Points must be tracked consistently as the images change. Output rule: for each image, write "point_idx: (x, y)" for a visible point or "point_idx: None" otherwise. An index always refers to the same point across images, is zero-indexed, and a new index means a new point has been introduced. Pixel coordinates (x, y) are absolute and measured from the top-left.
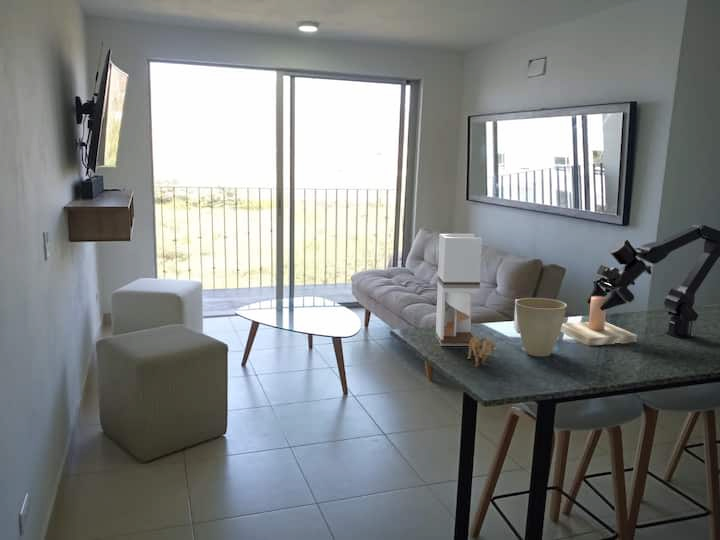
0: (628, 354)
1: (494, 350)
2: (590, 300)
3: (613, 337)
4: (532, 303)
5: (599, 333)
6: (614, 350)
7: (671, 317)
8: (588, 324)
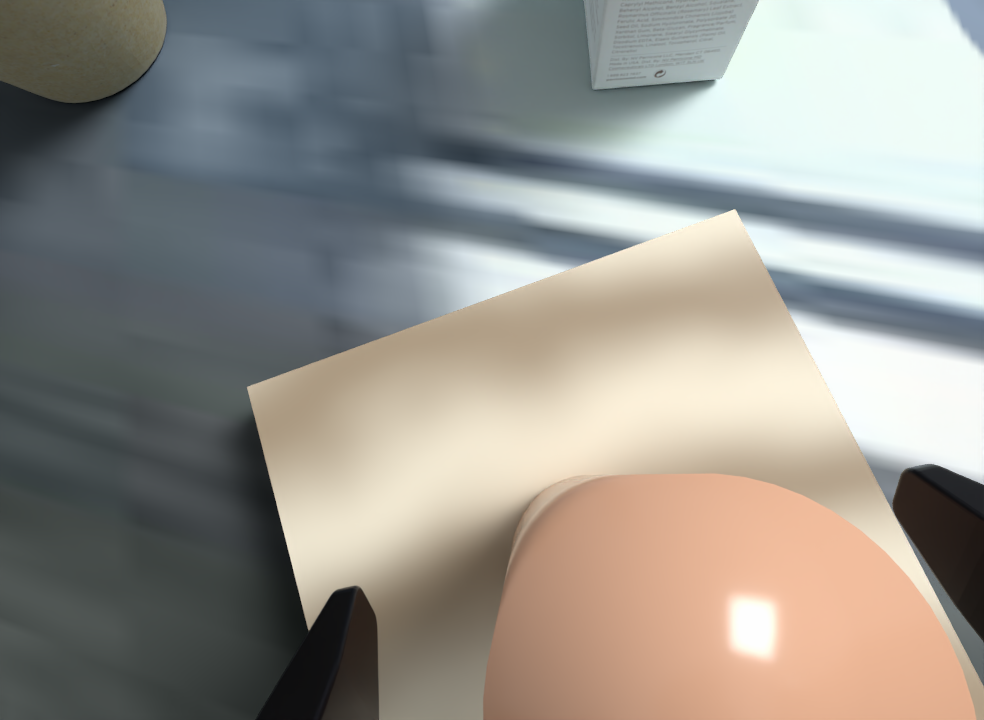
0: (59, 690)
1: None
2: (954, 537)
3: None
4: None
5: (419, 544)
6: (163, 596)
7: None
8: None
